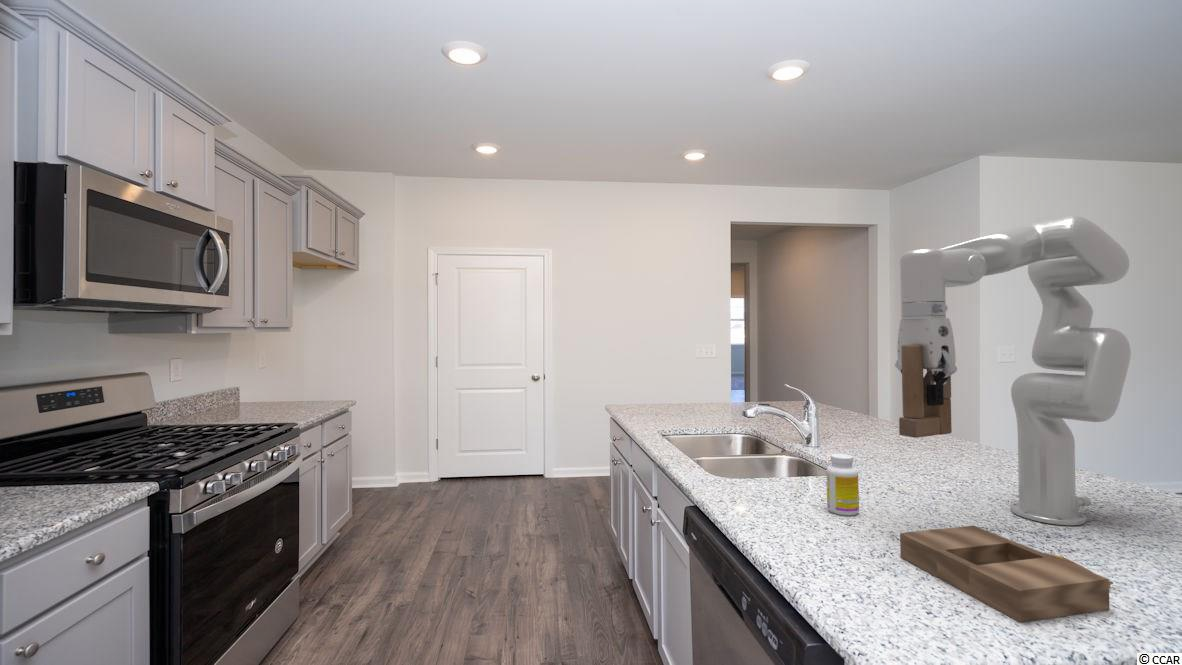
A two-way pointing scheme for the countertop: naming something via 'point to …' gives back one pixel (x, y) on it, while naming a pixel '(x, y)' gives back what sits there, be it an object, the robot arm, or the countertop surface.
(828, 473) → the supplement bottle
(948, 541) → the slotted crossbeam
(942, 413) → the wooden block
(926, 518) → the countertop surface
